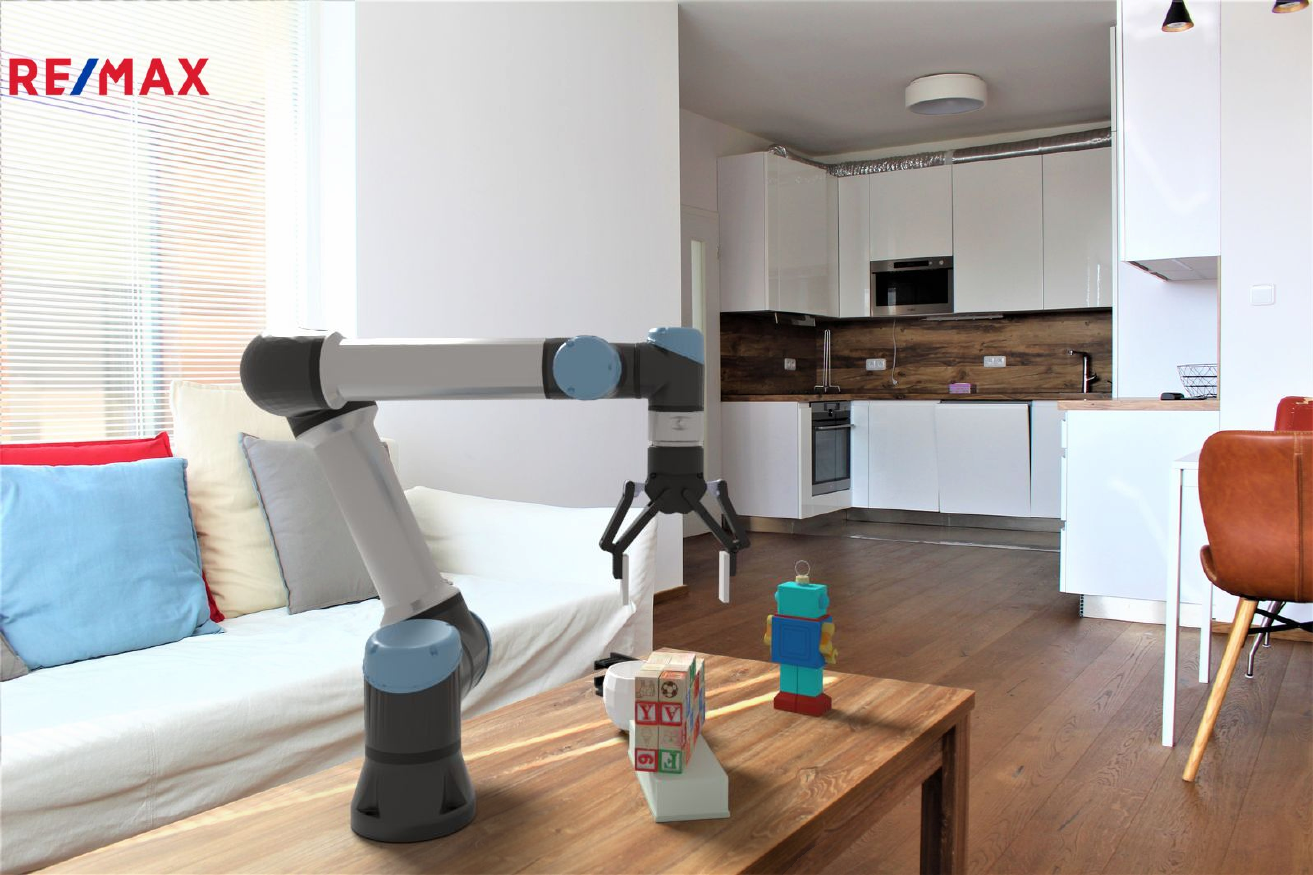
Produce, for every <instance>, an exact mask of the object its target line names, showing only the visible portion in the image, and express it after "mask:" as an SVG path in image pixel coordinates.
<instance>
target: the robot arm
mask: <svg viewBox="0 0 1313 875" xmlns="http://www.w3.org/2000/svg"><path fill="white" fill-rule="evenodd" d="M704 340H705V338H704V335H703V333H702V331H700V330H699V329H697V328H695V327H683V326H667V327H653V328H650V330H649V331H648V335H647V339H646V341H645V342H644V341H643V342H635V343H634V342H608V341H607V340H606V339H604V338H601V337H599V336H597V335H587V334H585V335H583V334H582V335H576V336H575V337H551V338H549V337H548V338H547V337H497V338H496V337H493V338H492V337H491V338H490V337H488V338H487V337H483V338H481V337H480V338H479V337H477V338H475V337H473V338H472V337H471V338H469V337H468V338H461V337H460V338H459V337H458V338H372V339H371V338H364V339H363V338H361V339H360V338H359V339H357V338H356V339H352V338H351V339H349V338H347V337H345V336H343V335H342V334H341V332H339V331H337V330H336V331H335V330H333V331H331V330H326V329H309V328H303V327H298V326H292V325H283V326H281V325H280V326H276V327H272V328H269V329H266V330H264V331H263V332H261V333H259V334H258V335H256V336H255V337H254V338H253V339H251V341H249V343H248V344H247V346H246V348H245V349H244V351H243V353H242V355H241V359H240V364H239V377H240V383H241V386H242V389H243V391H244V392H245V394H246V395H247V397H248V398H249V399H250V401H251V402H252V403H253V404H254V405H255V406H256V407H258V408H259V409H261V410H264V411H265V412H267V413H269V414H270V415H273V416H278V417H285V419H286V422H287V423H288V426H289V428H290V430H291V432H292V435H293V437H294V439H295V441H296V443H299V444H301V445H304V446H308V447H309V448H310V449H312V450H313V452H314V454H315V457H316V459H317V461H318V463H319V465H320V468H321V470H322V472H323V474H324V476H325V478H326V480H327V483H328V485H329V487H330V490H331V492H332V494H333V497H334V499H335V501H336V503H337V505H338V507H339V511H340V512H341V514H342V516H343V519H344V521H345V523H346V525H347V528H348V530H349V532H350V535H351V537H352V539H353V541H354V543H355V546H356V548H357V550H358V553H359V554H360V557H361V559H362V561H363V563H364V565H365V568H366V570H367V573H368V574H369V577H370V579H371V581H372V583H373V585H374V588H375V591H376V592H377V594H378V596H379V599H380V601H381V603H382V605H383V608H384V613H383V616H382V617H381V621H380V624H379V628H378V629H376V630H375V631H374V632H373V633H372V634H371V635H370V636H369V637H368V639H367V640H366V643H365V646H364V655H363V659H362V667H361V668H362V674H363V703H364V704H363V706H364V712H363V713H364V717H363V718H364V761H363V765H362V768H361V770H360V774H359V778H358V781H357V782H356V786H355V789H354V792H353V796H352V800H351V802H350V827H351V828H352V830H353V831H354V832H355V833H356V834H358V835H360V836H361V837H365V838H367V839H371V840H374V841H381V842H386V843H387V842H388V843H410V842H421V841H427V840H428V841H429V840H432V839H436V838H440V837H444V836H446V835H447V836H448V835H449V834H452V833H455V832H457V831H459V830H462V829H463V828H464V827H466V826H467V825H469V824H470V823H471V822H472V821H473V820H474V818H475V816H476V814H477V813H476V812H477V811H476V810H477V806H476V805H477V796H476V792H475V791H476V790H475V788H474V785H473V782H472V780H471V779H472V778H471V776H470V774H469V770H468V768H467V765H466V762H465V759H464V756H463V750H462V702H463V701H464V699H465V698H466V697H467V696H468V695H469V694H470V692H471V691H472V690H473V689H474V688H475V687H477V685H479V684H480V682H481V681H482V680H483V678H484V676H485V674H486V672H487V670H488V667H489V663H490V661H491V658H492V645H493V644H492V638H491V634H490V631H489V629H488V627H487V625H486V623H485V622H484V620H483V619H482V618H481V617H480V616H479V615H478V614H477V613H475V612H474V611H472V610H470V609H469V607H468V605H467V603H466V600H465V598H464V596H463V594H462V591H461V590H460V588H459V587H458V586H453V585H451V584H448V583H446V582H445V581H444V579H443V576H442V575H441V573H440V570H439V568H438V566H437V563H436V560H435V559H434V557H433V555H432V552H431V550H430V548H429V546H428V545H429V544H428V543H427V541H426V539H425V537H424V534H423V532H422V530H421V528H420V526H419V523H418V521H417V518H416V516H415V514H414V512H413V510H412V508H411V505H410V503H409V500H408V498H407V496H406V494H405V492H404V490H403V488H402V485H401V483H400V481H399V479H398V477H397V476H398V475H397V474H396V472H395V469H394V468H393V464H392V463H391V461H390V457H389V456H388V454H387V451H386V449H385V447H384V445H383V443H382V441H381V438H380V436H379V434H378V431H377V430H376V427H375V425H374V420H375V419H376V416H377V414H378V411H379V407H378V404H377V402H381V401H383V402H385V401H386V402H387V401H389V402H391V401H399V402H400V401H401V402H402V401H406V402H407V401H408V402H409V401H491V400H492V401H493V400H494V401H499V400H500V401H503V400H505V401H506V400H509V401H510V400H513V401H514V400H515V401H516V400H517V401H518V400H520V401H521V400H553V401H554V400H555V401H558V400H559V401H560V400H561V401H562V400H563V401H564V400H565V401H566V400H567V401H569V400H571V401H572V400H575V401H576V400H578V401H584V402H585V401H598V400H619V399H620V400H621V399H622V400H623V399H624V400H626V399H627V400H628V399H629V400H631V399H632V400H633V399H634V400H635V399H636V400H642V399H643V400H645V399H647V404H648V405H647V440H648V442H651V445H649V446H648V447H647V471H646V472H647V475H646V480H645V481H644V482H641V481H640V482H639V481H633V480H631V479H626V480H624V482H623V486H622V493H621V494H622V495H621V497H620V500H619V501H618V504H617V506H616V507H615V509H614V511H613V513H612V515H611V518H610V519H609V522H608V523H607V526H606V527H605V529H604V531H603V534H602V536H601V538H600V540H599V541H598V542H599V543H598V546H599V548H600V549H601V550H602V551H603V552H607V553H610V554H611V556H612V557H611V558H612V565H611V567H612V570H611V571H612V576H613V579H614V580H620V582H619V585H620V586H619V587H620V588H619V590H620V591H619V592H620V593H619V595H620V596H619V598H620V599H619V602H620V603H621V605H622V606H629V604H630V603H629V588H630V586H629V584H630V583H629V582H630V581H629V579H630V578H629V576H630V574H629V573H630V572H629V571H630V570H629V569H630V568H629V567H630V566H629V565H630V563H629V562H630V561H629V558H630V557H629V555H628V553H627V552H625V551H627V549H628V548H629V547H630V546H631V544H632V543H633V542H634V541H635V540H636V538H637V537H638V536H639V535H640V534H641V533H642V531H644V529H645V527H647V525H648V524H649V523H650V522H651V520H652V519H653V518H654V517H656V516H657V514H658V513H659V512H660V513H662V514H664V515H673V514H681V515H688V514H690V513H691V512H694V513H695V515H696V516H697V517H698V518H699V519H700V520H701V522H702V523H703V524H704V525H705V526H706V528H708V530H709V531H710V532H711V533H712V535H713V536H714V537H715V538H716V540H717V541H718V542H719V543H720V544H721V546H723V547H724V550H725V551H724V550H720V551H719V552H718V553H719V558H718V559H719V563H718V564H719V568H718V569H719V572H718V573H719V574H718V575H719V576H718V578H719V579H718V582H719V583H718V600H720V601H721V602H722V603H723V604H727V603H728V604H729V603H730V577H731V578H733V577H736V575H737V573H738V572H737V569H738V568H737V563H738V562H737V560H738V559H737V558H738V553H739V552H740V551H741V550H744V549H749V548H750V547H751V541H750V538H749V536H748V534H747V533H746V530H745V528H744V525H743V524H742V522H741V520H740V518H739V516H738V515H739V514H737V511H736V510H735V507H734V505H733V503H732V501H731V500H730V497H729V488H728V483H727V481H726V480H724V479H722V478H717V479H715V480H714V481H706V480H705V478H704V476H705V475H704V472H705V471H704V470H705V468H704V467H705V466H704V465H705V463H704V460H705V448H704V447H703V446H702V445H700V443H701V442H703V441H704V440H705V433H704V432H705V416H704V414H705V413H704V411H705V378H706V376H705V375H706V374H705V373H706V371H705V370H706V366H705V365H706V362H705V341H704ZM707 491H709V492H710V495H711V496H713V497H715V498H716V500H717V502H718V505H719V506H720V509H721V511H722V513H723V515H724V517H725V519H726V522H727V523H728V525H729V528H730V530H731V532H732V534H733V536H734V538H735V540H732V539H731V537H730V536H729V535H728V534H727V532H726V531H725V530H724V528H722V527H721V526H720V524H719V523H718V522H717V521H716V520H715V518H714V517H713V516H712V515H711V514H710V511H708V509H707V508H706V506H704V505H703V503H702V502H701V500H702V498H703V497H704V496H705V494H706V492H707ZM642 492H644V493H645V494H646V496H647V497H648V498H649V501H648V502H647V504H646V505H645V506H644V507H643V509H642V511H641V512H640V513H639V515H637V517H635V519H634V520H633V522H632V523H631V524H630V525H629V526H628V527H627V528H626V530H625V531H623V533H622V534H621V536H620V537H619V538H618V539H617V540H616V541H615V543H613V542H614V540H615V538H616V536H617V534H618V532H619V530H620V529H621V526H622V525H623V522H624V520H625V518H626V516H627V514H628V512H629V510H630V509H631V506H632V504H633V501H634V498H636V499H637V498H638V497H639V496H640V494H641V493H642Z"/></svg>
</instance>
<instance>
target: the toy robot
mask: <svg viewBox="0 0 1313 875" xmlns="http://www.w3.org/2000/svg"><path fill="white" fill-rule="evenodd" d="M800 562H801V560H799V561H798V562H796V564H795V567H794V568H795V572H796V574H797V575H796V576H795V581H787V582H784V583H781V584H779V585H777V591H776V592H775V593H774V599H775V601H776V602H777V612H776V613H774V614H769V615H768V616H767V618H766V626H767V628H766V632H765V634H764V636H763V641H764V644H765V645H767V646H768V647H769V652H770V661H771V662H772V663H777V664H779V691H778V692H777V694H776V695H775V696H774V697H773V709H775V710H780V711H781V710H782V711H787V712H792V713H798V714H802V715H806V716H807V715H808V716H813V717H820V716H821V715H823V714H825V713H826V712H827V711H829V710H831V709H832V708H833V707H832V704H833V703H832V701H833V700H832V699H833V698H832V696H830V695H828V694H827V693H824V667H825V666H826V665H828V664H833V665H834V664H835V665H836V663H837V660H836V658H835V657H837V656H838V655H839V652H838V651H839V650H838V649H837V648H834V647H833V635H834V634H835V629H836V628H835V622H834V623H833V616H831V614H830V613H827V608H828V607H829V606H830V602H831V601H830V598H829V596H828V595H827V594H828V592H827V591H828V590H827V588H828V587H827V585H825V584H815V583H810V576H808V574H809V573H810V570H811V569H810V564H809V563H808V562H807V561H806V560H803V562H804V563H805V564H807V566H808V572H807V573H806V574H800V573H799V572H798V571H797V565H798V564H799V563H800Z"/></svg>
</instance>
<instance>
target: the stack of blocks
mask: <svg viewBox="0 0 1313 875" xmlns="http://www.w3.org/2000/svg"><path fill="white" fill-rule="evenodd" d="M646 661H647V662H646V664H644V665H643V667H642V668H641V670H640V671H639V672H638V673H637V674H636V676H635V764H634V768H633V770H634V769H635V770H634V772H635V771H644V772H661V773H674V774H682V773H683V771H684V768H685V766H686V765H687V763H688V761H689V758H690V756H691V754H692V752H693V749H694V745H695V743H696V739H697V737H698V735H699V734H701V731H702V729H703V728H704V724H705V722H706V679H705V677H706V676H705V658H698V657H697V654H696V653H687V652H686V653H683V652H664V651H663V652H662V651H659V652H658V651H652V652H651V654H650V655H649V657H648V659H647V660H646Z"/></svg>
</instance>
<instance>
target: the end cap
mask: <svg viewBox="0 0 1313 875" xmlns="http://www.w3.org/2000/svg"><path fill="white" fill-rule="evenodd" d="M609 655H610V656H609V657H606V658H602V659H601V658H600V659H598V660H597V659H596V660H595V661H594V662H593V671H599V670H604V669H606V671H607V670H608V668H609V667H610V666H612V665H615V664H617V663H622V662H628V661H644V660H643V659H639V658H636V657H633V656H630V655H626V654H622V653H619V652H616V651H612V652H609ZM605 675H606V673H605V674H603V675H598V676H594V677H593V685H594V686H593V687H594V688H596V689H597V690H595V691H594V692H595V695H596V696H600V697H602V698H603V682H604V679H605Z"/></svg>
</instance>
